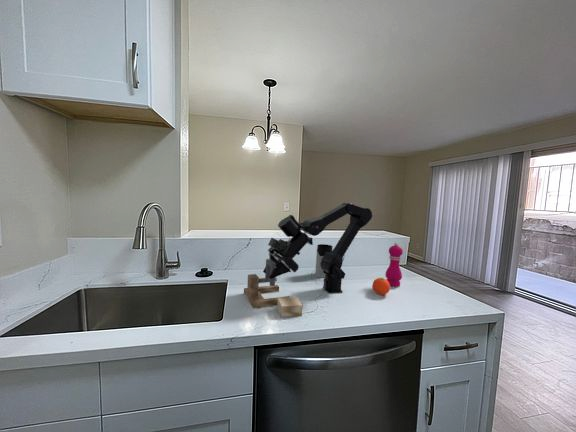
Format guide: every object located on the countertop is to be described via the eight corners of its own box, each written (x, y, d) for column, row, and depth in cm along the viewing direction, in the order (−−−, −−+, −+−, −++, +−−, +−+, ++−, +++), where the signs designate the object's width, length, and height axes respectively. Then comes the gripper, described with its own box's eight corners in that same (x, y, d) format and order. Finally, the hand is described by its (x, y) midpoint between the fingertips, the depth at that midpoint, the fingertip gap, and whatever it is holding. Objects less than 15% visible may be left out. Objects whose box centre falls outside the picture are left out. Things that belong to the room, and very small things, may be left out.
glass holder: (315, 271, 134) (316, 243, 133) (342, 274, 131) (344, 245, 130) (313, 276, 126) (315, 246, 124) (343, 280, 123) (345, 249, 122)
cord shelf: (277, 289, 106) (278, 268, 105) (290, 303, 93) (292, 279, 93) (243, 293, 101) (244, 270, 100) (253, 308, 88) (254, 282, 87)
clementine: (372, 289, 112) (373, 273, 112) (389, 292, 110) (390, 275, 109) (371, 295, 105) (372, 278, 104) (389, 298, 102) (391, 281, 102)
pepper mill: (384, 285, 118) (387, 242, 116) (384, 281, 125) (388, 240, 123) (401, 288, 115) (405, 244, 114) (400, 283, 122) (404, 242, 120)
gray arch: (269, 279, 100) (269, 258, 99) (274, 285, 94) (275, 263, 94) (265, 280, 99) (266, 259, 99) (270, 286, 94) (271, 263, 93)
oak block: (296, 306, 91) (297, 296, 91) (302, 315, 84) (302, 305, 84) (277, 307, 89) (277, 297, 89) (281, 316, 83) (281, 306, 82)
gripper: (273, 227, 105) (246, 255, 102) (292, 234, 88) (260, 268, 85) (290, 245, 109) (264, 273, 106) (311, 256, 92) (281, 289, 89)
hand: (266, 275), depth 96 cm, fingers closed on gray arch, 6 cm apart
